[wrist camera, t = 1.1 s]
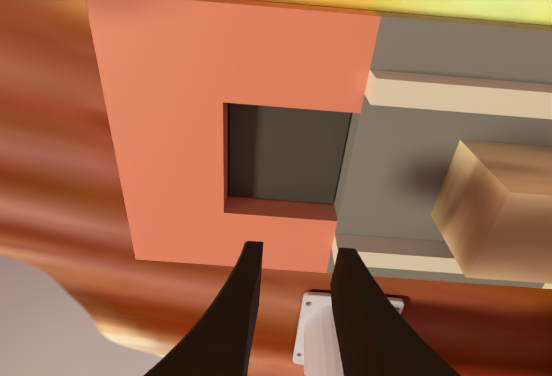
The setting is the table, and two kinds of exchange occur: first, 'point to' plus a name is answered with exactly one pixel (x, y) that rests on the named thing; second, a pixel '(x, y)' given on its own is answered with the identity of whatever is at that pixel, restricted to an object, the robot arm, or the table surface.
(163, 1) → the chute board
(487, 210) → the maple block
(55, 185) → the table surface
